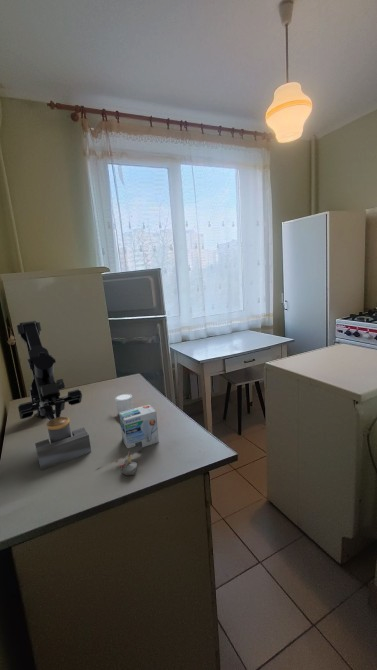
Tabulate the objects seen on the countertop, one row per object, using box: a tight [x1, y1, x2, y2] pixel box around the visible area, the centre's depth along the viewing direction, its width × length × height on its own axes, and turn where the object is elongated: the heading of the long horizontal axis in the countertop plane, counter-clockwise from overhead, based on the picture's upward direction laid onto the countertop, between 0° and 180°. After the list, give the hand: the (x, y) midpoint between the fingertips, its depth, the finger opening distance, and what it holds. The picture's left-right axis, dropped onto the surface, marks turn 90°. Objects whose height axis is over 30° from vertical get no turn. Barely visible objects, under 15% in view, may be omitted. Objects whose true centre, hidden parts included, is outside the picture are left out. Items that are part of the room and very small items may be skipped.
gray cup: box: [45, 416, 72, 444], centre depth 90 cm, size 6×6×10 cm
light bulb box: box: [119, 404, 160, 449], centre depth 95 cm, size 11×7×11 cm, turn 118°
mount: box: [34, 427, 92, 471], centre depth 93 cm, size 18×16×7 cm
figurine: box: [120, 450, 138, 476], centre depth 81 cm, size 5×4×6 cm
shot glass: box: [114, 393, 134, 417], centre depth 117 cm, size 7×7×7 cm
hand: (57, 427), depth 93 cm, fingers closed, pressing on gray cup
